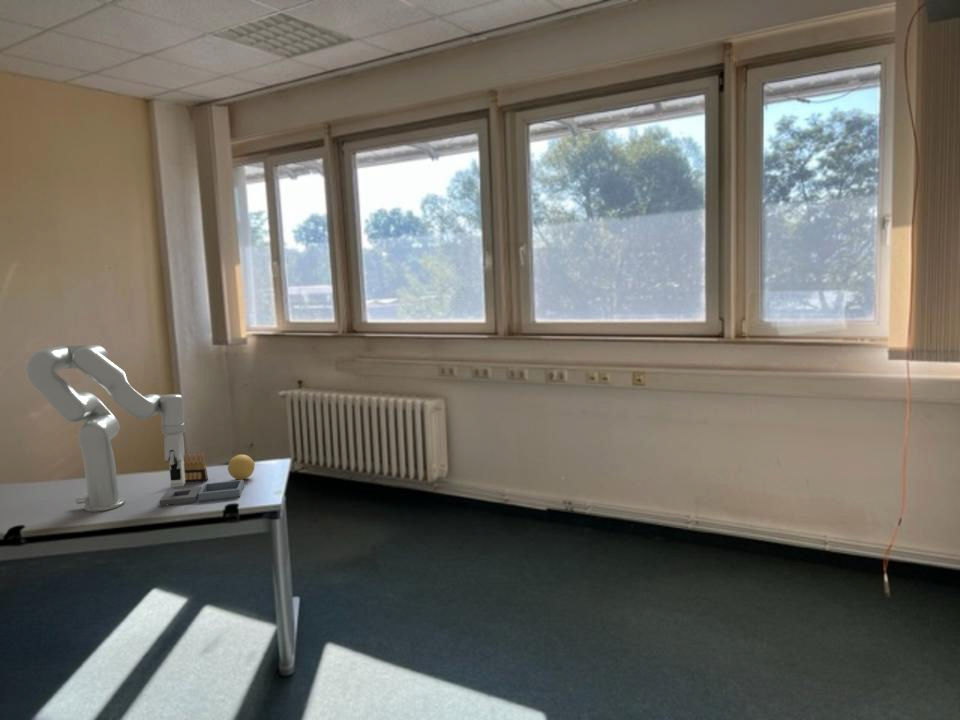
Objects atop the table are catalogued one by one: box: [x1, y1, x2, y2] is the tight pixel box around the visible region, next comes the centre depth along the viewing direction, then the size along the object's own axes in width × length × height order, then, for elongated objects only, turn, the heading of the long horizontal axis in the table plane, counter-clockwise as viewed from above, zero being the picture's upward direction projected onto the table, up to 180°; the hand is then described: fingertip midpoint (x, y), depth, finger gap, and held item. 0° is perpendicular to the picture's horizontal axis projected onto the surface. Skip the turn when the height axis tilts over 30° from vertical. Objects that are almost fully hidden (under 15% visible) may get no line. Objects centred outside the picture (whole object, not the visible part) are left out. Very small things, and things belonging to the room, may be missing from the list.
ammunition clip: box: [184, 451, 209, 484], centre depth 258 cm, size 11×2×12 cm, turn 91°
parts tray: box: [198, 479, 245, 503], centre depth 241 cm, size 14×12×3 cm
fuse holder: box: [158, 486, 203, 506], centre depth 238 cm, size 12×12×2 cm
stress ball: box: [227, 454, 255, 480], centre depth 258 cm, size 10×10×10 cm
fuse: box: [168, 456, 187, 488], centre depth 237 cm, size 4×4×10 cm
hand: (177, 477), depth 237 cm, fingers closed on fuse, 3 cm apart
